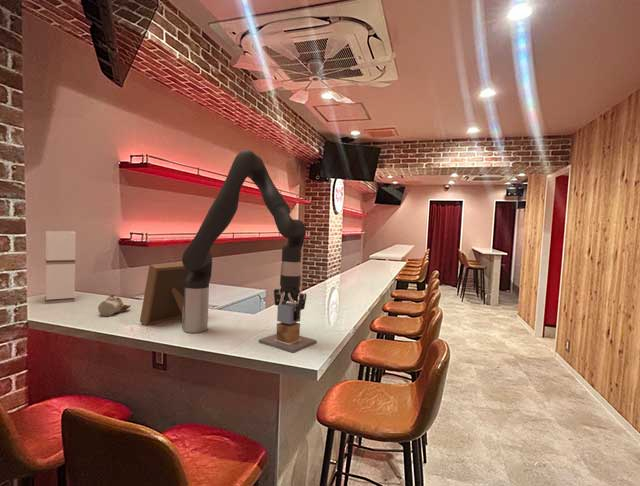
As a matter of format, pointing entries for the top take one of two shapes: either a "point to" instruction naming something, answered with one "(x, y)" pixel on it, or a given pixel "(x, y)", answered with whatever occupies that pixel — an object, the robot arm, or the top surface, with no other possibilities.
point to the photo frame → (164, 293)
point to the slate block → (286, 313)
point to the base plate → (289, 347)
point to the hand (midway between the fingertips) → (288, 319)
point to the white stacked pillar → (60, 267)
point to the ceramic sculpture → (111, 306)
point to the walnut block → (288, 332)
